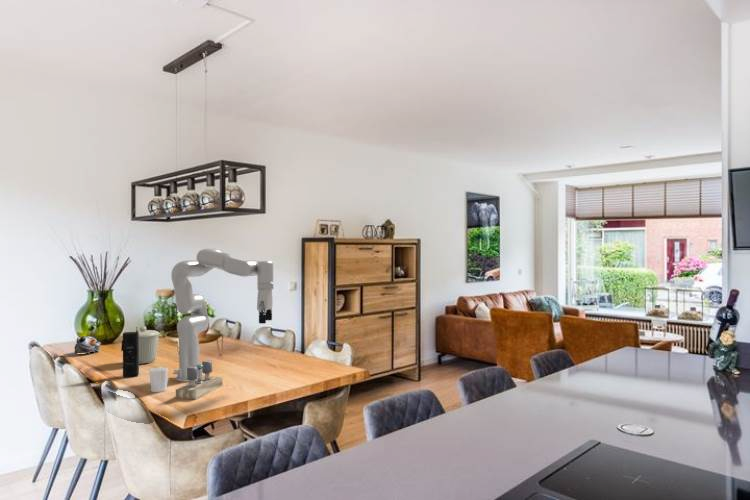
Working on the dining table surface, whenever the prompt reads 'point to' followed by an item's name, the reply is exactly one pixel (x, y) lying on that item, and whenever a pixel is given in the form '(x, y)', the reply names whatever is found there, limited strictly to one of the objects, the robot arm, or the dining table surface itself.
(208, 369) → the knob
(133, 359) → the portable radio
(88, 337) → the lucky cat figurine
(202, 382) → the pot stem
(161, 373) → the white cup
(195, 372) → the knob
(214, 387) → the mount panel
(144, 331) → the canister
